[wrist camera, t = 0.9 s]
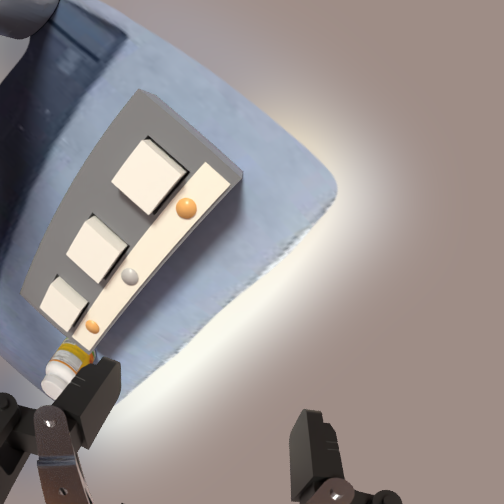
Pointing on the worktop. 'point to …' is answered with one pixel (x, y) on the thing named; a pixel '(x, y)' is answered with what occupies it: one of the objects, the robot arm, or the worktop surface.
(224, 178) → the button board
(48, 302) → the far key
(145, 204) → the near key
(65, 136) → the worktop surface
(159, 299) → the worktop surface
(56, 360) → the supplement bottle
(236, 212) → the worktop surface
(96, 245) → the middle key
